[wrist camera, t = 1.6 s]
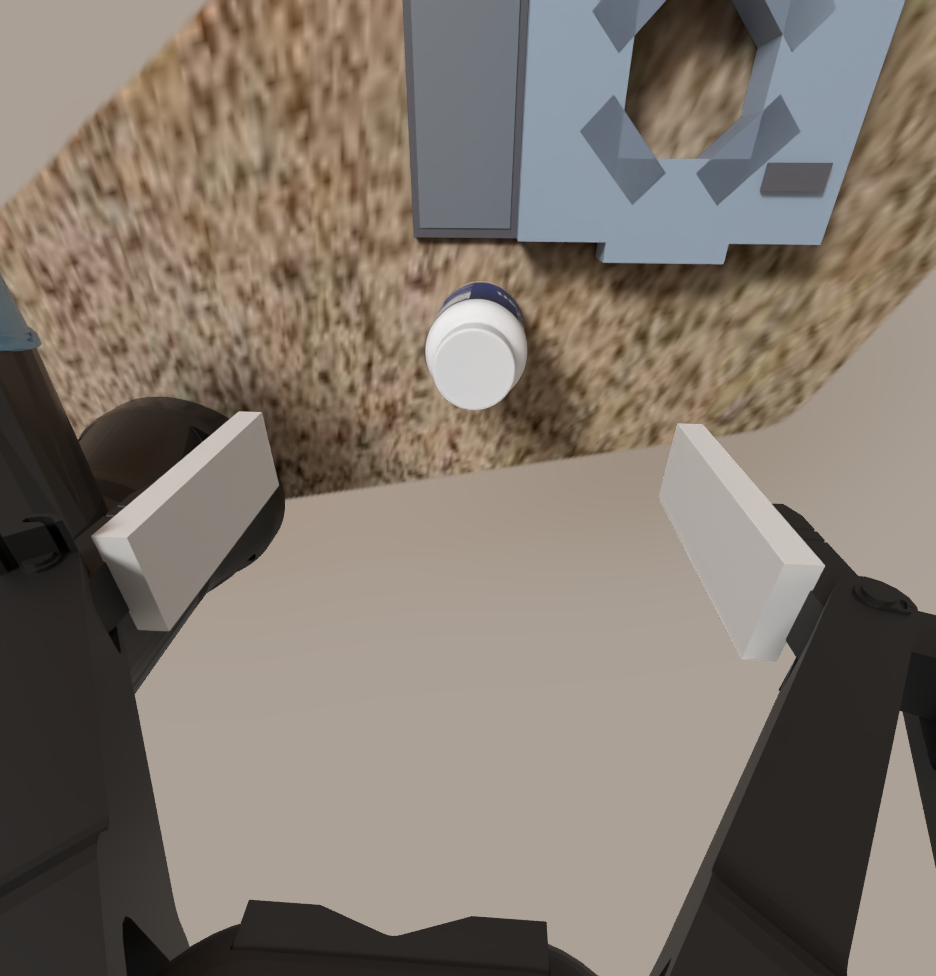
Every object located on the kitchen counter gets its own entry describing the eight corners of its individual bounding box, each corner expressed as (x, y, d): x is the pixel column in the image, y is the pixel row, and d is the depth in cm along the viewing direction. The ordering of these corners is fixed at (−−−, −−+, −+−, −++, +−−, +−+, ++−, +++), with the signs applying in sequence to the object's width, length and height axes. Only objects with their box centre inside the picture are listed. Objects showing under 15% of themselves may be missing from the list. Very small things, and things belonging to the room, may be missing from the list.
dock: (515, 256, 29) (516, 262, 27) (536, -157, 21) (541, -203, 18) (789, 259, 28) (816, 266, 26) (926, -167, 20) (984, -215, 18)
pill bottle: (539, 331, 31) (554, 382, 23) (474, 381, 33) (466, 444, 25) (488, 259, 29) (483, 286, 21) (421, 317, 31) (393, 362, 23)
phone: (515, 236, 29) (516, 238, 28) (416, 235, 29) (413, 237, 28) (530, -50, 23) (531, -61, 22) (403, -48, 23) (399, -58, 22)
